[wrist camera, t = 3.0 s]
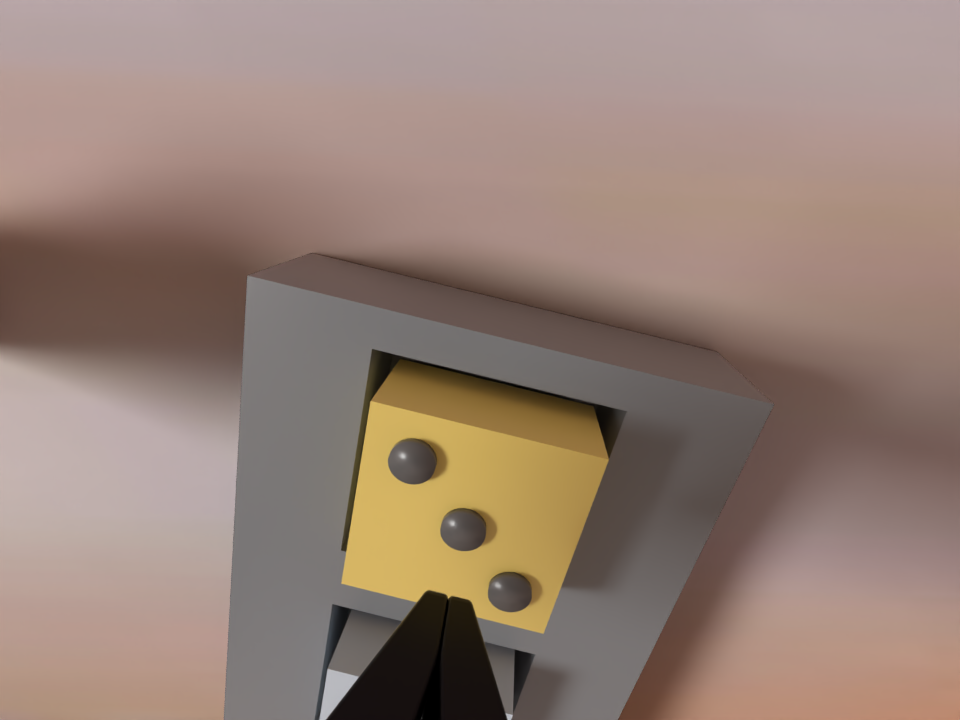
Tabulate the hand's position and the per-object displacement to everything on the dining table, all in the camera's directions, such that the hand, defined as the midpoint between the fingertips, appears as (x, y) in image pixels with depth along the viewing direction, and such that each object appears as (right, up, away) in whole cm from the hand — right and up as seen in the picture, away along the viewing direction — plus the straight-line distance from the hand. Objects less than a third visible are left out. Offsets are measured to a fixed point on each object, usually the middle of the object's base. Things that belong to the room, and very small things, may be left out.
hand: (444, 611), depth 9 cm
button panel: (-1, -5, +10) cm, 11 cm away
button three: (0, +2, +4) cm, 5 cm away
